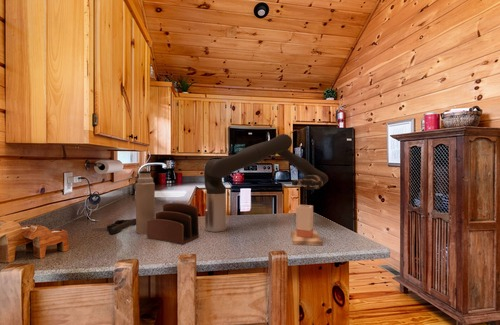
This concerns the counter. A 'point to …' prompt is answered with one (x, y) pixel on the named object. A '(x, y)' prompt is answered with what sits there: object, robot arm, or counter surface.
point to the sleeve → (304, 221)
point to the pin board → (306, 239)
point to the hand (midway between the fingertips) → (303, 183)
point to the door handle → (116, 226)
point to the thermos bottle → (144, 201)
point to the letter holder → (174, 224)
